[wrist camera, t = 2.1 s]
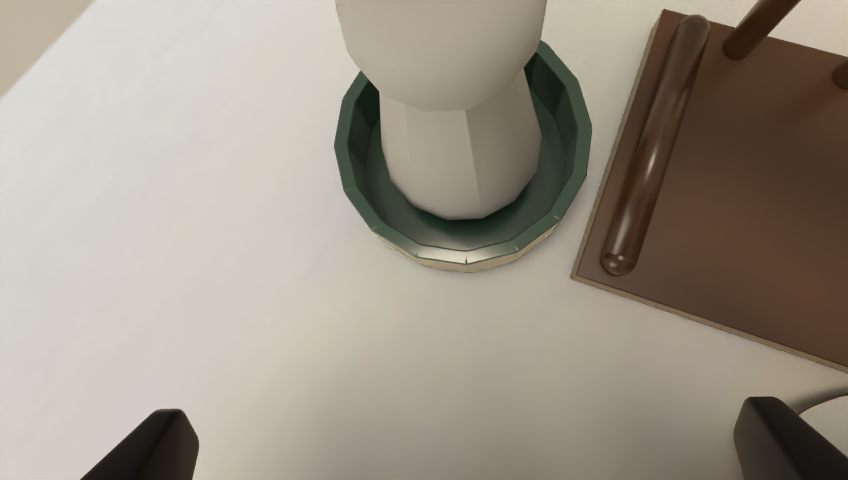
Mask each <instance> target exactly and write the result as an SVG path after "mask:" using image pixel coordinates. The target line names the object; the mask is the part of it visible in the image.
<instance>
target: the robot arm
mask: <svg viewBox="0 0 848 480" xmlns="http://www.w3.org/2000/svg"><path fill="white" fill-rule="evenodd" d="M734 443H735V447H736V451H737V454H738V458H739V461H740V465H741V468H742V472H743V476H744V479H745V480H848V457H847V456H846V455H845V454H843V453H842V452H841V451H840V450H839V449H837V448H836V447H835V446H834V445H833V444H832V443H830V442H829V441H828V440H827V439H826V438H825V437H823V436H822V435H821V434H820V433H819V432H818V431H816V430H815V429H814V428H813V427H812V426H810V425H809V424H808V423H807V422H806V421H805V420H803V419H802V418H801V417H800V416H799V415H798V414H796V413H795V412H794V411H793V410H792V409H791V408H789V407H788V406H787V405H786V404H785V403H783V402H782V401H781V400H779V399H777V398H775V397H749V398H747V399H746V400H745V401H744V403H743V406H742V408H741V411H740V414H739V417H738V420H737V422H736V425H735V428H734ZM198 451H199V441H198V437H197V435H196V433H195V431H194V429H193V427H192V425H191V424H190V422H189V420H188V418H187V416H186V414H185V413H184V412H183V411H182V410H180V409H160V410H156V411H155V412H153V413H152V414H151V415H149V416H148V417H147V418H146V419H145V420H144V421H143V422H142V423H141V424H140V425H139V426H138V427H136V428H135V429H134V430H133V431H132V432H131V433H130V434H129V435H128V436H127V437H126V438H125V439H123V440H122V441H121V442H120V443H119V444H118V445H117V446H116V447H115V448H114V449H113V450H112V451H111V452H109V453H108V454H107V455H106V456H105V457H104V458H103V459H102V460H101V461H100V462H99V463H98V464H96V465H95V466H94V467H93V468H92V469H91V470H90V471H89V472H88V473H87V474H86V475H85V476H83V477H82V478H81V479H80V480H192V478H193V474H194V469H195V465H196V460H197V456H198Z"/></svg>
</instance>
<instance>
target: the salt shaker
mask: <svg viewBox="0 0 848 480" xmlns="http://www.w3.org/2000/svg"><path fill="white" fill-rule="evenodd" d="M335 4H336V10H337V14H338V18H339V21H340V25H341V29H342V33H343V36H344V40H345V44H346V47H347V51H348V53H349V54H350V56H351V58H352V59H353V61H354V62H355V64H356V65H357V67H358V68H359V69H360V70H361V71H362V72H363V73H364V74H365V76H366V77H367V78H368V79H369V80H370V81H371V82H372V84H373V85H374V86H375V87H376V88H377V89H378V90H379V94H380V118H381V143H382V150H383V154H384V157H385V161H386V165H387V169H388V173H389V176H390V180H391V181H392V182H393V183H394V184H395V186H396V187H397V188H398V189H399V190H400V191H401V193H402V194H403V195H404V196H405V197H406V198H407V199H408V201H409V202H410V203H411V204H412V205H413V206H414V207H417V208H419V209H421V210H424V211H426V212H429V213H431V214H433V215H436V216H438V217H441V218H443V219H445V220H464V219H482V218H484V217H486V216H488V215H490V214H492V213H493V212H495V211H497V210H499V209H501V208H503V207H505V206H506V205H508V204H510V203H512V202H513V201H515V200H516V198H517V197H518V196H519V194H520V193H521V192H522V190H523V189H524V188H525V186H526V185H527V184H528V182H529V181H530V180H531V178H532V177H533V176H534V174H535V173H536V172H537V167H538V161H539V154H540V148H541V142H542V134H541V131H540V127H539V124H538V120H537V116H536V113H535V109H534V106H533V102H532V99H531V95H530V91H529V87H528V84H527V80H526V76H525V72H524V66H525V65H526V64H527V62H528V61H529V60H530V58H531V57H532V56H533V55H534V53H535V52H536V50H537V47H538V44H539V41H540V38H541V34H542V28H543V22H544V16H545V10H546V4H547V0H335Z"/></svg>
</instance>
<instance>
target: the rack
mask: <svg viewBox="0 0 848 480" xmlns="http://www.w3.org/2000/svg"><path fill="white" fill-rule="evenodd" d="M800 1H801V0H759V1H758V2H757V3H756V4H755V5H754V7H753V8H752V9H751V10H750V11H749V12H748V14H747V15H746V16H745V17H744V18H743V20H742V21H741V22H740V23H739V24H738V26H737V27H736V28H734V27H731V26H727V25H723V24H719V23H715V22H711V21H708V20H707V19H706V18H705V17H703V16H701V15H690V16H689V15H685V14H681V13H677V12H673V11H670V10H666V9H663V11H662V12H661V14H660V16H659V18H658V19H657V21H656V23H655V25H654V26H653V28H652V31H651V34H650V37H649V40H648V43H647V46H646V49H645V52H644V55H643V58H642V61H641V65H640V68H639V71H638V74H637V77H636V80H635V83H634V86H633V89H632V92H631V95H630V98H629V101H628V104H627V107H626V110H625V113H624V116H623V119H622V122H621V125H620V128H619V131H618V134H617V137H616V140H615V143H614V146H613V149H612V152H611V155H610V158H609V162H608V165H607V168H606V171H605V174H604V177H603V180H602V183H601V186H600V189H599V192H598V195H597V198H596V201H595V204H594V207H593V210H592V213H591V216H590V219H589V222H588V225H587V228H586V231H585V234H584V237H583V240H582V243H581V246H580V249H579V252H578V255H577V258H576V262H575V265H574V268H573V271H572V274H571V279H573V280H576V281H579V282H582V283H585V284H588V285H591V286H594V287H597V288H600V289H603V290H606V291H609V292H612V293H615V294H618V295H621V296H623V297H626V298H629V299H632V300H635V301H638V302H641V303H644V304H647V305H650V306H653V307H656V308H659V309H662V310H665V311H668V312H671V313H673V314H676V315H679V316H682V317H685V318H688V319H691V320H694V321H697V322H700V323H703V324H706V325H709V326H712V327H715V328H718V329H721V330H724V331H726V332H729V333H732V334H735V335H738V336H741V337H744V338H747V339H750V340H753V341H756V342H759V343H762V344H765V345H768V346H771V347H774V348H776V349H779V350H782V351H785V352H788V353H791V354H794V355H797V356H800V357H803V358H806V359H809V360H812V361H815V362H818V363H821V364H824V365H827V366H829V367H832V368H835V369H838V370H841V371H844V372H847V373H848V57H845V56H841V55H837V54H833V53H830V52H826V51H822V50H818V49H814V48H811V47H807V46H803V45H799V44H795V43H792V42H788V41H784V40H780V39H776V38H772V37H769V36H767V35H768V34H769V33H770V32H771V31H772V30H773V29H774V28H775V27H776V26H777V25H778V24H779V23H780V22H781V21H782V20H783V19H784V17H785V16H786V15H787V14H788V13H789V12H790V11H791V10H792V9H793V8H794V7H795V6H796V5H797V4H798V3H799V2H800Z"/></svg>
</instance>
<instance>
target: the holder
mask: <svg viewBox="0 0 848 480" xmlns="http://www.w3.org/2000/svg"><path fill="white" fill-rule="evenodd" d="M524 72H525V76H526V80H527V84H528V87H529V91H530V95H531V99H532V102H533V106H534V109H535V113H536V116H537V120H538V124H539V127H540V131H541V134H542V142H541V148H540V154H539V161H538V167H537V172H536V173H535V174H534V176H533V177H532V178H531V180H530V181H529V182H528V184H527V185H526V186H525V188H524V189H523V190H522V192H521V193H520V194H519V196H518V197H517V198H516V200H515V201H513V202H512V203H510V204H508V205H506V206H505V207H503V208H501V209H499V210H497V211H495V212H493V213H492V214H490V215H488V216H486V217H484V218H482V219H464V220H445V219H443V218H441V217H438V216H436V215H433V214H431V213H429V212H426V211H424V210H421V209H419V208H417V207H414V206H413V205H412V204H411V203H410V202H409V201H408V199H407V198H406V197H405V196H404V195H403V194H402V193H401V191H400V190H399V189H398V188H397V187H396V186H395V184H394V183H393V182H392V181H391V180H390V176H389V173H388V169H387V165H386V161H385V157H384V154H383V150H382V143H381V118H380V94H379V90H378V89H377V88H376V87H375V86H374V85H373V84H372V82H371V81H370V80H369V79H368V78H367V77H366V76H365V74H364V73H363V72H362V71H360V72H359V74H358V75H357V77H356V78H355V80H354V82H353V83H352V85H351V86H350V88H349V89H348V91H347V93H346V94H345V96H344V97H343V100H342V104H341V110H340V115H339V120H338V126H337V131H336V137H335V142H334V149H335V154H336V158H337V163H338V167H339V172H340V176H341V181H342V185H343V190H344V192H345V194H346V196H347V197H348V199H349V200H350V201H351V203H352V204H353V206H354V207H355V208H356V210H357V211H358V212H359V214H360V215H361V217H362V218H363V219H364V221H365V222H366V224H367V225H368V226H369V228H370V229H371V231H373V232H374V233H375V234H376V235H377V236H378V237H380V238H381V239H382V240H383V241H385V242H386V243H387V244H388V245H390V246H392V247H393V248H395V249H397V250H398V251H400V252H401V253H403V254H405V255H406V256H408V257H410V258H411V259H413V260H415V261H416V262H418V263H420V264H421V265H423V266H426V267H432V268H437V269H442V270H447V271H458V272H466V273H469V272H470V273H471V272H475V271H480V270H486V269H491V268H494V267H497V266H501V265H504V264H507V263H511V262H513V261H516V260H517V259H518V258H520V257H521V256H522V255H524V254H525V253H527V252H528V251H530V250H531V249H533V248H534V247H535V246H536V245H537V244H539V243H540V242H541V241H543V240H544V239H545V238H547V237H548V236H549V235H550V234H551V233H552V231H553V230H554V229H555V227H556V226H557V225H558V223H559V222H560V220H561V219H562V217H563V216H564V214H565V212H566V210H567V209H568V207H569V205H570V204H571V202H572V200H573V199H574V197H575V195H576V194H577V192H578V190H579V189H580V187H581V185H582V183H583V182H584V180H585V177H586V175H587V167H588V159H589V151H590V143H591V135H592V124H591V121H590V118H589V114H588V111H587V108H586V104H585V101H584V98H583V95H582V91H581V88H580V85H579V82H578V81H577V78H576V77H575V76H574V75H573V74H572V72H571V71H570V70H569V69H568V68H567V67H566V65H565V64H564V63H563V62H562V61H561V60H560V58H559V57H558V56H557V55H556V54H555V52H554V51H553V50H552V49H551V48H550V47H549V45H548V44H546V43H545V42H543V41H541V40H540V41H539V44H538V47H537V50H536V52H535V53H534V55H533V56H532V57H531V58H530V60H529V61H528V62H527V64H526V65H525V66H524Z"/></svg>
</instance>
